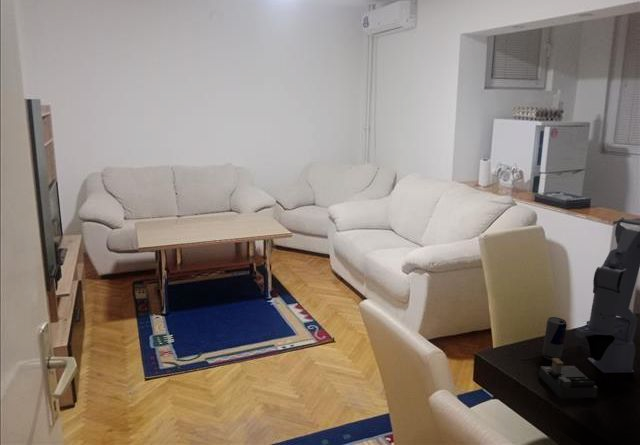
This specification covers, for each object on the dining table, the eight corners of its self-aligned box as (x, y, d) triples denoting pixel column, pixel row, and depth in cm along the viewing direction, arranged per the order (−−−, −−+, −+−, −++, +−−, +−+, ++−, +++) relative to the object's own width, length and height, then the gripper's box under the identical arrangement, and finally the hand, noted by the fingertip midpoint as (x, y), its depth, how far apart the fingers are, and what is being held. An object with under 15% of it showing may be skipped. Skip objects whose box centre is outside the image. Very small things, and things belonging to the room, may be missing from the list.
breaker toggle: (557, 370, 139) (559, 358, 138) (562, 375, 137) (564, 363, 136) (549, 370, 139) (550, 358, 138) (554, 375, 136) (556, 363, 135)
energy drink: (563, 362, 151) (569, 325, 148) (544, 360, 152) (549, 323, 149) (558, 353, 156) (564, 317, 153) (540, 351, 157) (545, 315, 154)
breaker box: (572, 375, 144) (575, 360, 143) (596, 397, 133) (599, 381, 132) (539, 375, 143) (541, 360, 142) (559, 398, 132) (562, 382, 131)
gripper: (612, 302, 137) (604, 348, 140) (569, 308, 132) (562, 354, 136) (635, 313, 130) (626, 360, 134) (590, 319, 126) (582, 368, 129)
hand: (595, 358), depth 134 cm, fingers closed
